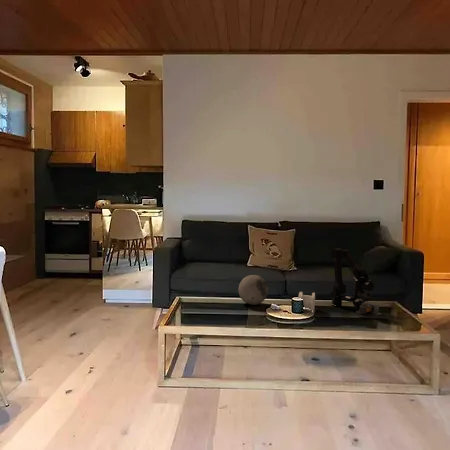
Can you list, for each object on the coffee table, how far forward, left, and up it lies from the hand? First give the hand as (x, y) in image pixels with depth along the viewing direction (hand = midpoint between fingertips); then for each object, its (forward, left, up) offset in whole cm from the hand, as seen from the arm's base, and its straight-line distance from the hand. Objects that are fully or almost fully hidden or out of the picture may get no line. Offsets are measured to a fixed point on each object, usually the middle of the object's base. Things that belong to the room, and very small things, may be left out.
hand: (357, 311), depth 348 cm
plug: (0, +8, -2) cm, 9 cm away
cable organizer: (-16, -30, -2) cm, 34 cm away
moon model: (-43, -54, -2) cm, 69 cm away
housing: (0, +11, -2) cm, 12 cm away
